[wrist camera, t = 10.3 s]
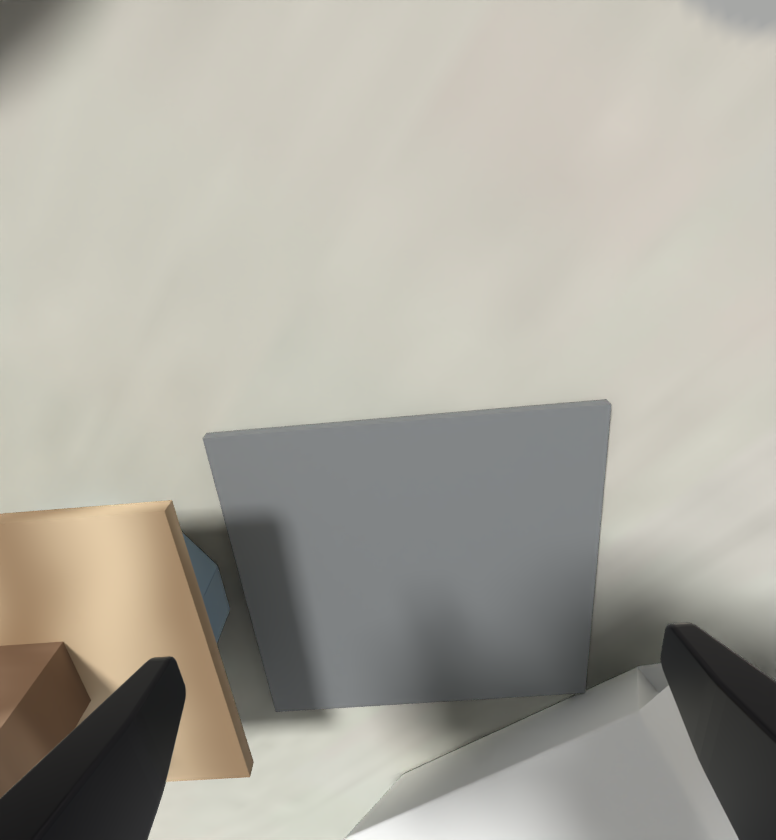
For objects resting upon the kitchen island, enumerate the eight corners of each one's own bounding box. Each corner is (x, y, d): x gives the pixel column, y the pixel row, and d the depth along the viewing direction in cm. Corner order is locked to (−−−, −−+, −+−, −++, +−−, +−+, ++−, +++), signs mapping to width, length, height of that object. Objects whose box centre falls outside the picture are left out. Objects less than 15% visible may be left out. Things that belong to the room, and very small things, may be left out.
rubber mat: (606, 399, 20) (611, 404, 20) (581, 684, 27) (585, 693, 26) (206, 433, 21) (202, 438, 20) (277, 703, 27) (276, 711, 27)
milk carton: (399, 775, 30) (712, 631, 25) (459, 919, 27) (822, 789, 22) (338, 841, 24) (740, 666, 19) (408, 1037, 21) (898, 893, 16)
